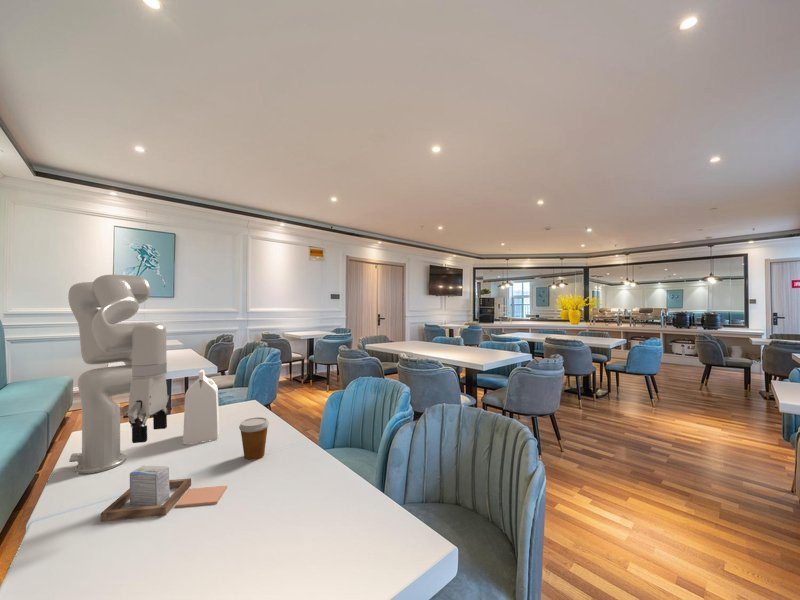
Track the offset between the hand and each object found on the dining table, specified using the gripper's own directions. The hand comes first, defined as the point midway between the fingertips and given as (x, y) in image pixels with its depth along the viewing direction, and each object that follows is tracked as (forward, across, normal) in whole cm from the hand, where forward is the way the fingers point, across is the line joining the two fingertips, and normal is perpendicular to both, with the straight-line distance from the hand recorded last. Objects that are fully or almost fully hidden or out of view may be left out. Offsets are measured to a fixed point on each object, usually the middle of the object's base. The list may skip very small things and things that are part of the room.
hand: (150, 435), depth 92 cm
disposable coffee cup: (+18, -25, +20) cm, 36 cm away
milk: (+17, -47, -5) cm, 50 cm away
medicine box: (+18, -1, -1) cm, 18 cm away
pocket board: (+18, -1, -1) cm, 18 cm away
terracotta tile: (+18, -1, +12) cm, 22 cm away
